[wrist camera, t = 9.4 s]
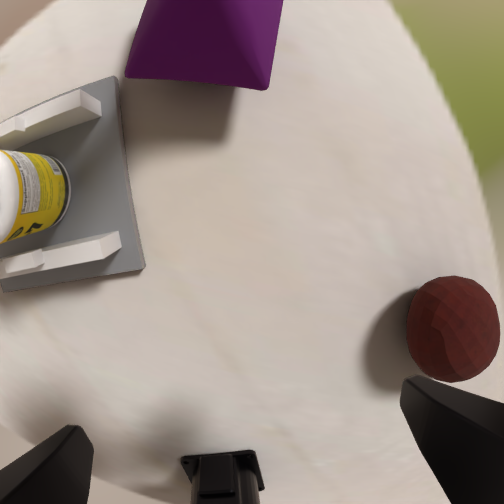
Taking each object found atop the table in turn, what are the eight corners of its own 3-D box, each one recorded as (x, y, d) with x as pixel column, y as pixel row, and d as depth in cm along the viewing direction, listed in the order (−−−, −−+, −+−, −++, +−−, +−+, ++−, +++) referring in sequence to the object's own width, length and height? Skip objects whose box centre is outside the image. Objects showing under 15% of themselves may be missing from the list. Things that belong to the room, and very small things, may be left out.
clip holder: (145, 265, 19) (121, 290, 14) (8, 289, 18) (-29, 311, 13) (118, 79, 16) (88, 52, 11) (-16, 135, 15) (-56, 131, 11)
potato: (434, 241, 20) (491, 261, 14) (481, 317, 22) (525, 345, 16) (369, 316, 21) (413, 359, 15) (429, 379, 23) (466, 418, 17)
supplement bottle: (20, 231, 16) (-67, 260, 8) (16, 162, 16) (-74, 160, 7) (76, 226, 17) (-11, 255, 9) (72, 149, 16) (-17, 133, 8)
